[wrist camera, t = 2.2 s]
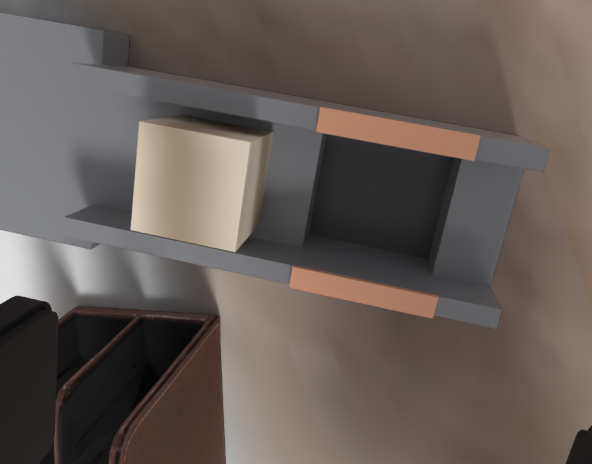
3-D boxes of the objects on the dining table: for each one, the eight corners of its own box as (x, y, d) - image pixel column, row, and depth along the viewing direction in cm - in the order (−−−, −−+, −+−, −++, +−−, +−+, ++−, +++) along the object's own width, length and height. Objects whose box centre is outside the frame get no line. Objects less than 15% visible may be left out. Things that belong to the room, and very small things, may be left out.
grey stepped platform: (526, 103, 28) (564, 109, 22) (468, 310, 32) (487, 363, 26) (-63, 1, 32) (-167, -17, 26) (-58, 198, 35) (-149, 222, 29)
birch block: (273, 132, 28) (250, 142, 23) (259, 224, 29) (235, 252, 25) (180, 114, 28) (139, 121, 24) (171, 206, 30) (130, 230, 25)
